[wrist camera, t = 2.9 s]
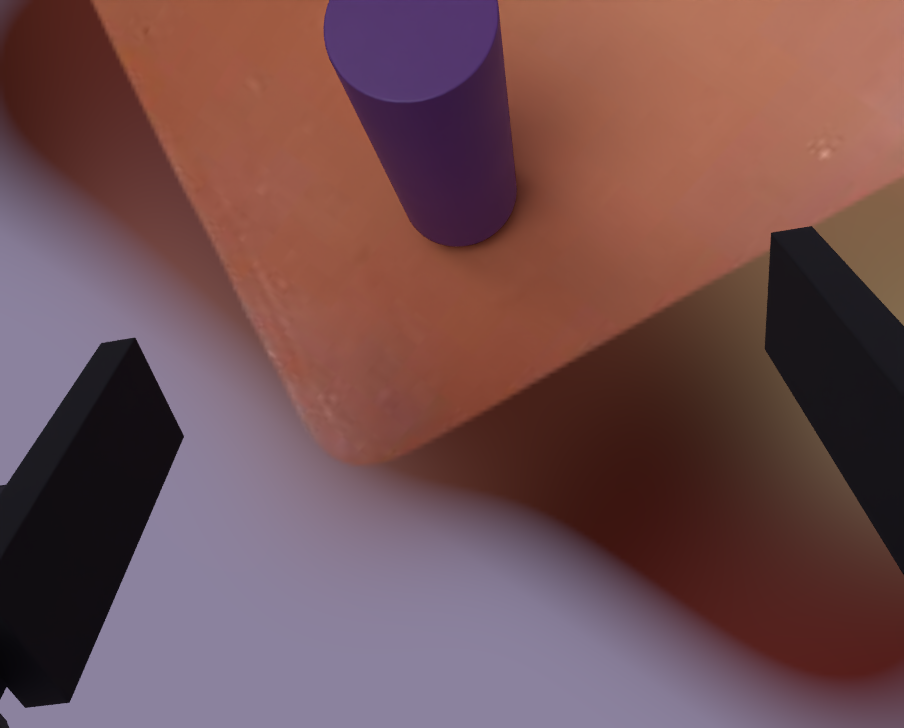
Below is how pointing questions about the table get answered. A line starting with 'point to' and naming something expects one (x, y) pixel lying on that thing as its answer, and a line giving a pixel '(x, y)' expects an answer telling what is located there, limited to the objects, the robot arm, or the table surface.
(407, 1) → the purple cylinder
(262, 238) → the table surface
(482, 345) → the table surface
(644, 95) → the table surface
